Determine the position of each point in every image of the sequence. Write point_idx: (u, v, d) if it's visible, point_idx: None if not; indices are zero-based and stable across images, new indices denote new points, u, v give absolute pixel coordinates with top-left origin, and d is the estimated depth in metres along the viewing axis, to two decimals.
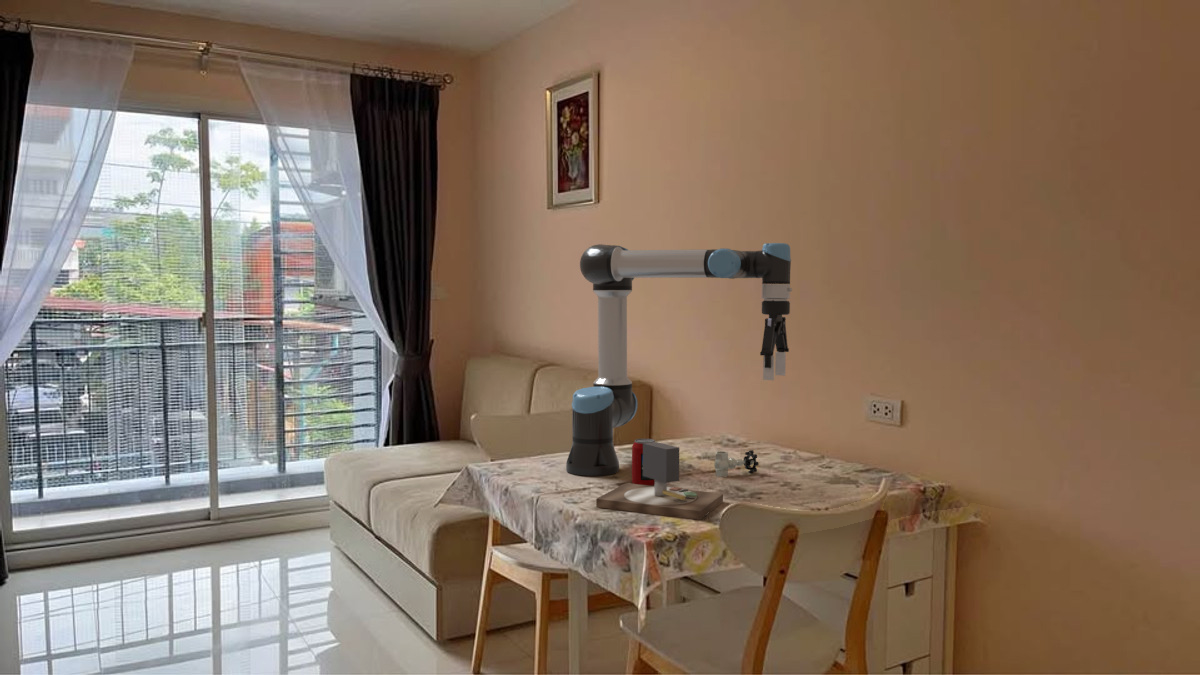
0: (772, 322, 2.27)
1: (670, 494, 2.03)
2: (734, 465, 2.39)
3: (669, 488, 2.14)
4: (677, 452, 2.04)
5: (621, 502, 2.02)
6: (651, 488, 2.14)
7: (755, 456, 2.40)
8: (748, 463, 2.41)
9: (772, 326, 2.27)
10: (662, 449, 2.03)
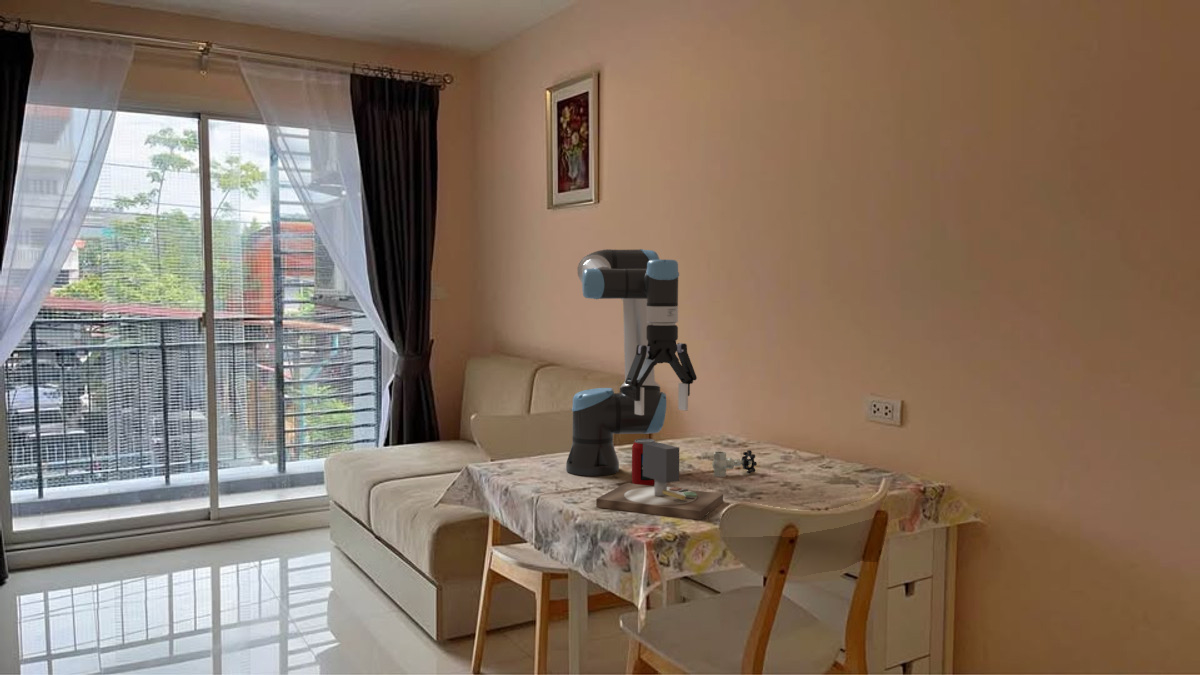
0: (641, 349, 2.00)
1: (670, 494, 2.03)
2: (732, 465, 2.39)
3: (669, 488, 2.14)
4: (677, 452, 2.04)
5: (621, 502, 2.02)
6: (651, 488, 2.14)
7: (753, 456, 2.40)
8: (746, 463, 2.41)
9: (641, 354, 2.00)
10: (662, 449, 2.03)
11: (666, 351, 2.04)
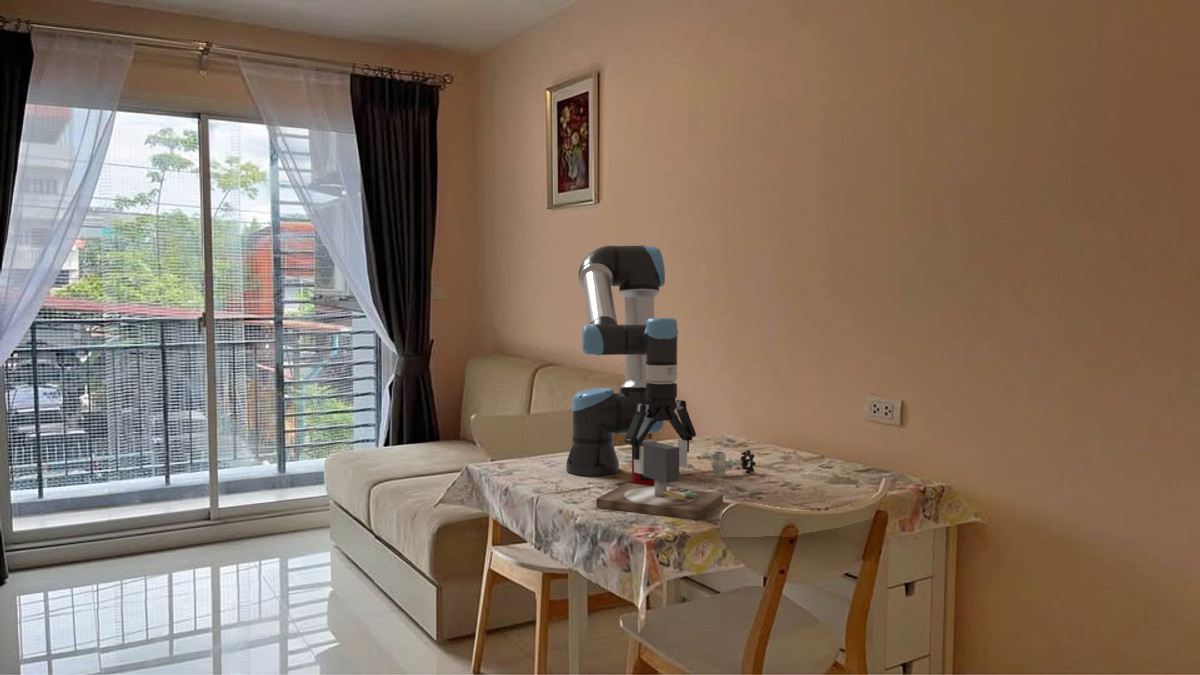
0: (640, 408, 2.01)
1: (670, 494, 2.03)
2: (731, 465, 2.39)
3: (669, 488, 2.14)
4: (677, 452, 2.04)
5: (621, 502, 2.02)
6: (651, 488, 2.14)
7: (752, 456, 2.40)
8: (745, 463, 2.41)
9: (640, 413, 2.01)
10: (662, 449, 2.03)
11: (665, 409, 2.05)
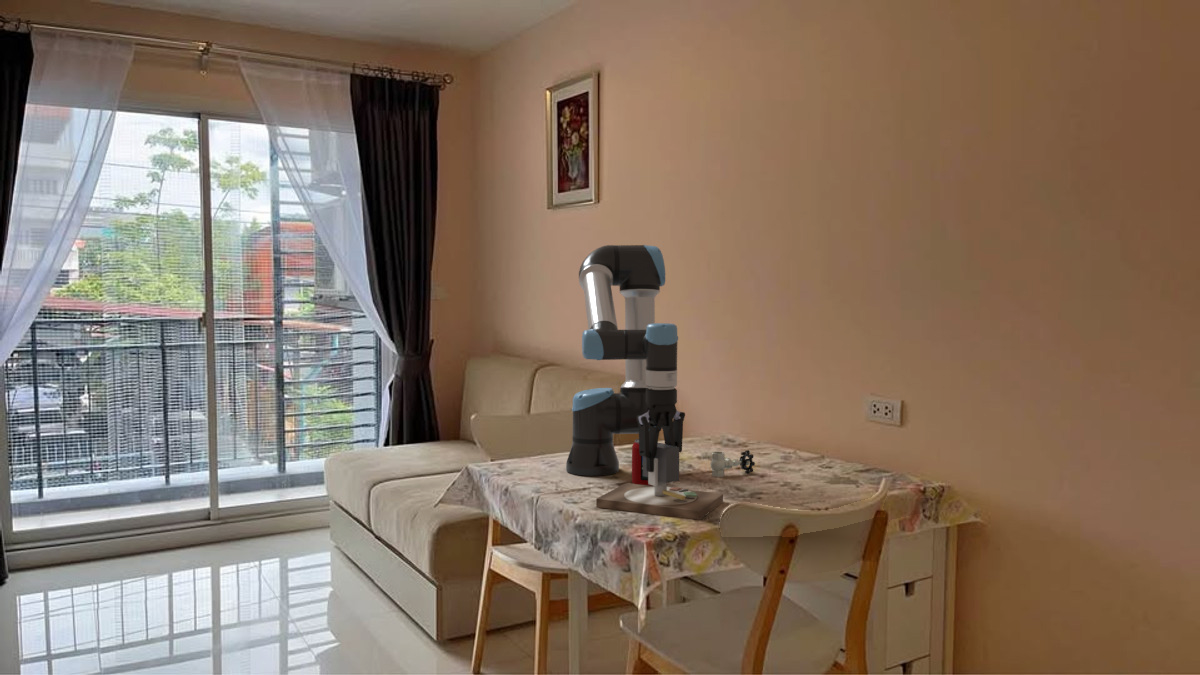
0: (642, 421, 2.02)
1: (670, 494, 2.03)
2: (730, 465, 2.38)
3: (669, 488, 2.14)
4: (677, 452, 2.04)
5: (621, 502, 2.02)
6: (651, 488, 2.14)
7: (751, 456, 2.40)
8: (744, 463, 2.41)
9: (643, 425, 2.02)
10: (662, 449, 2.03)
11: (665, 413, 2.05)
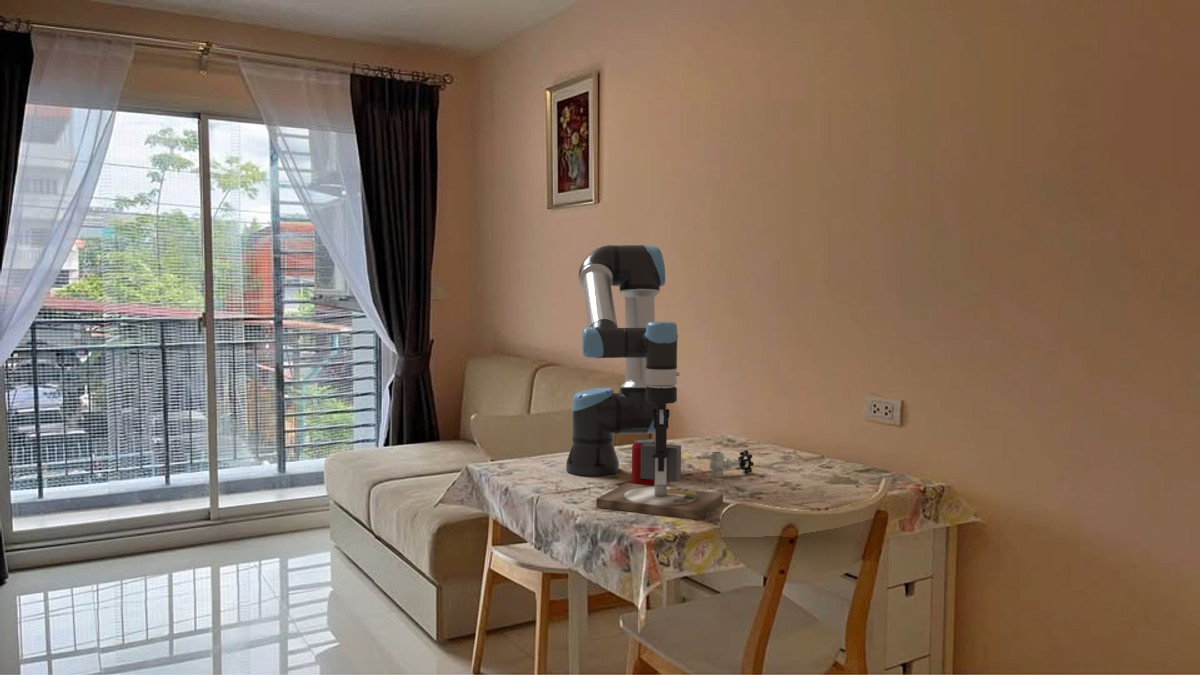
0: (665, 421, 1.99)
1: (677, 492, 2.05)
2: (729, 465, 2.38)
3: (669, 488, 2.14)
4: (680, 450, 2.06)
5: (621, 502, 2.02)
6: (651, 488, 2.14)
7: (750, 456, 2.40)
8: (743, 463, 2.41)
9: (665, 425, 2.00)
10: (670, 448, 2.04)
11: (665, 410, 2.06)
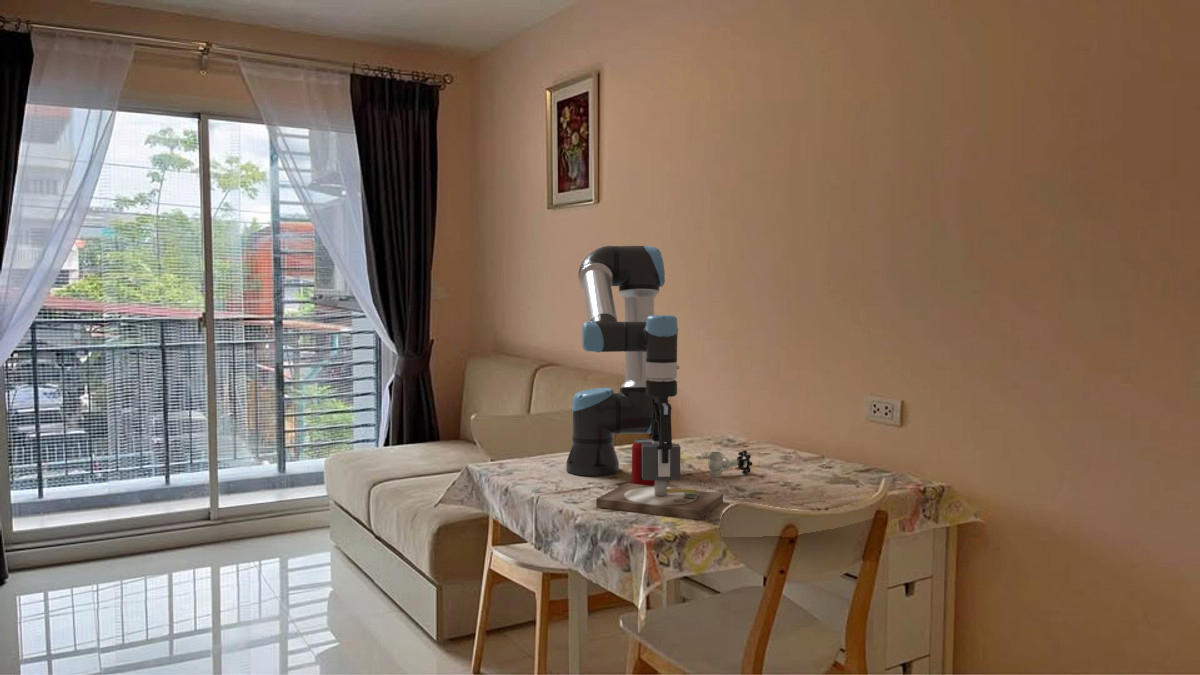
0: (669, 411, 1.99)
1: (678, 491, 2.07)
2: (728, 465, 2.38)
3: (669, 488, 2.14)
4: None
5: (621, 502, 2.02)
6: (651, 488, 2.14)
7: (749, 456, 2.40)
8: (742, 463, 2.41)
9: (669, 415, 1.99)
10: (674, 448, 2.04)
11: None
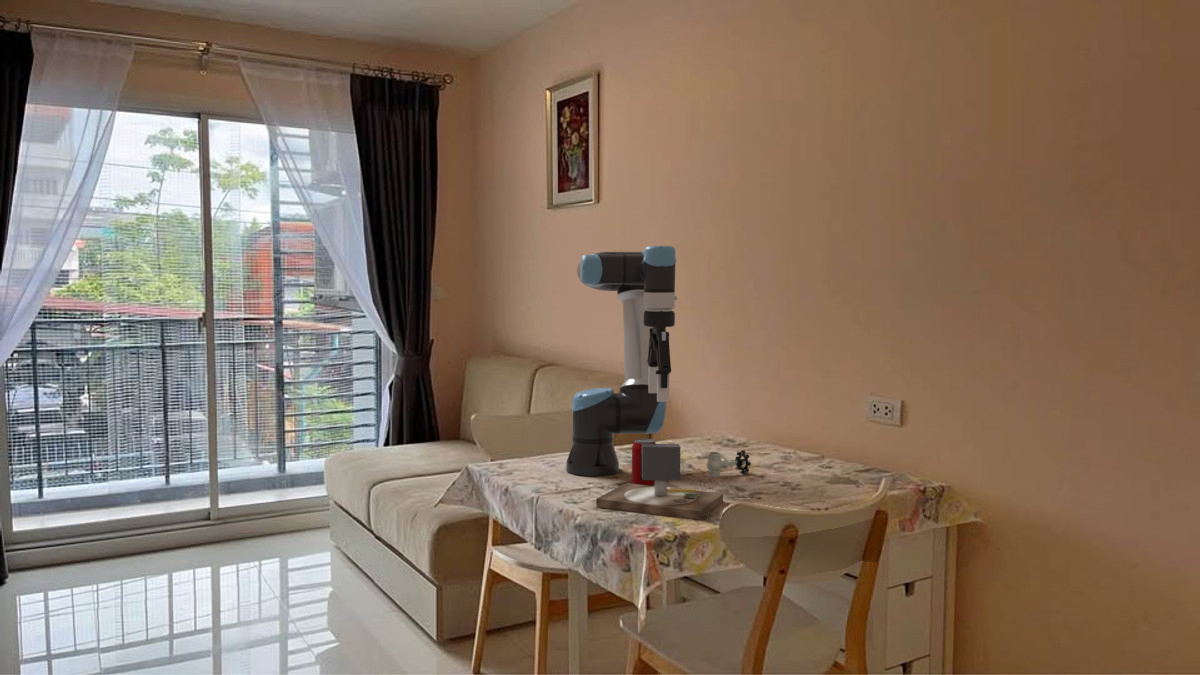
0: (667, 336, 2.00)
1: (678, 491, 2.07)
2: (726, 465, 2.38)
3: (669, 488, 2.14)
4: None
5: (621, 502, 2.02)
6: (651, 488, 2.14)
7: (747, 456, 2.40)
8: (740, 463, 2.41)
9: (667, 340, 2.00)
10: (674, 448, 2.04)
11: None
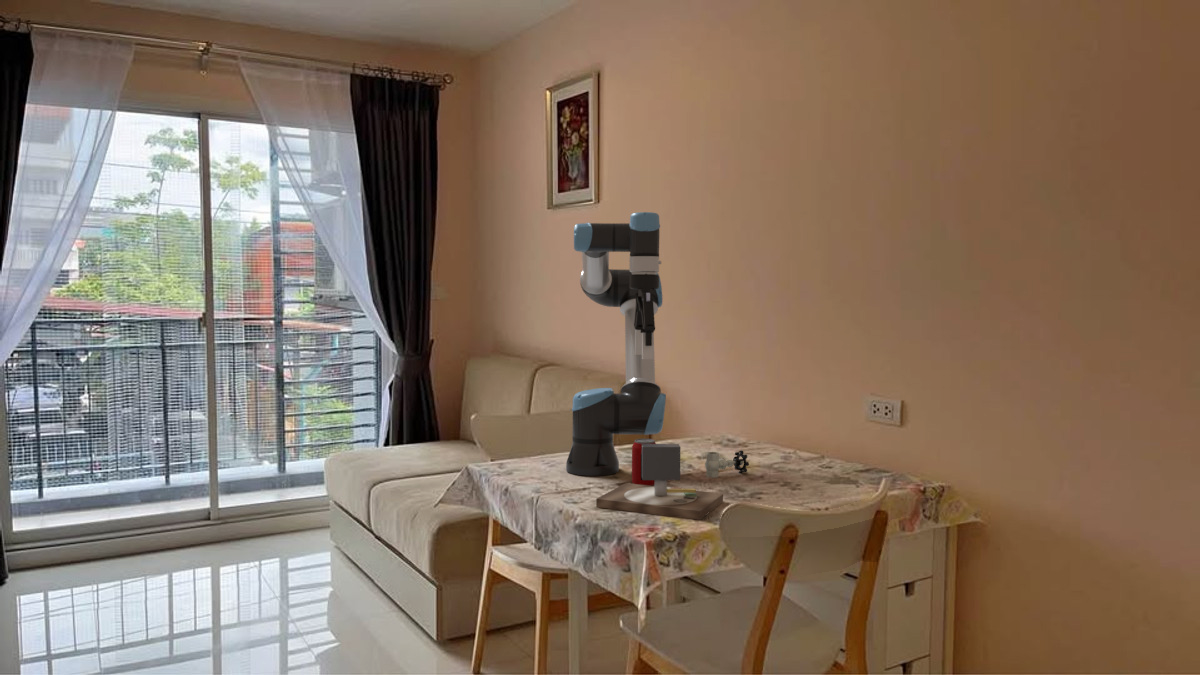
0: (651, 297, 2.11)
1: (678, 491, 2.07)
2: (725, 465, 2.38)
3: (669, 488, 2.14)
4: None
5: (621, 502, 2.02)
6: (651, 488, 2.14)
7: (745, 456, 2.40)
8: (738, 463, 2.41)
9: (651, 301, 2.11)
10: (674, 448, 2.04)
11: None
